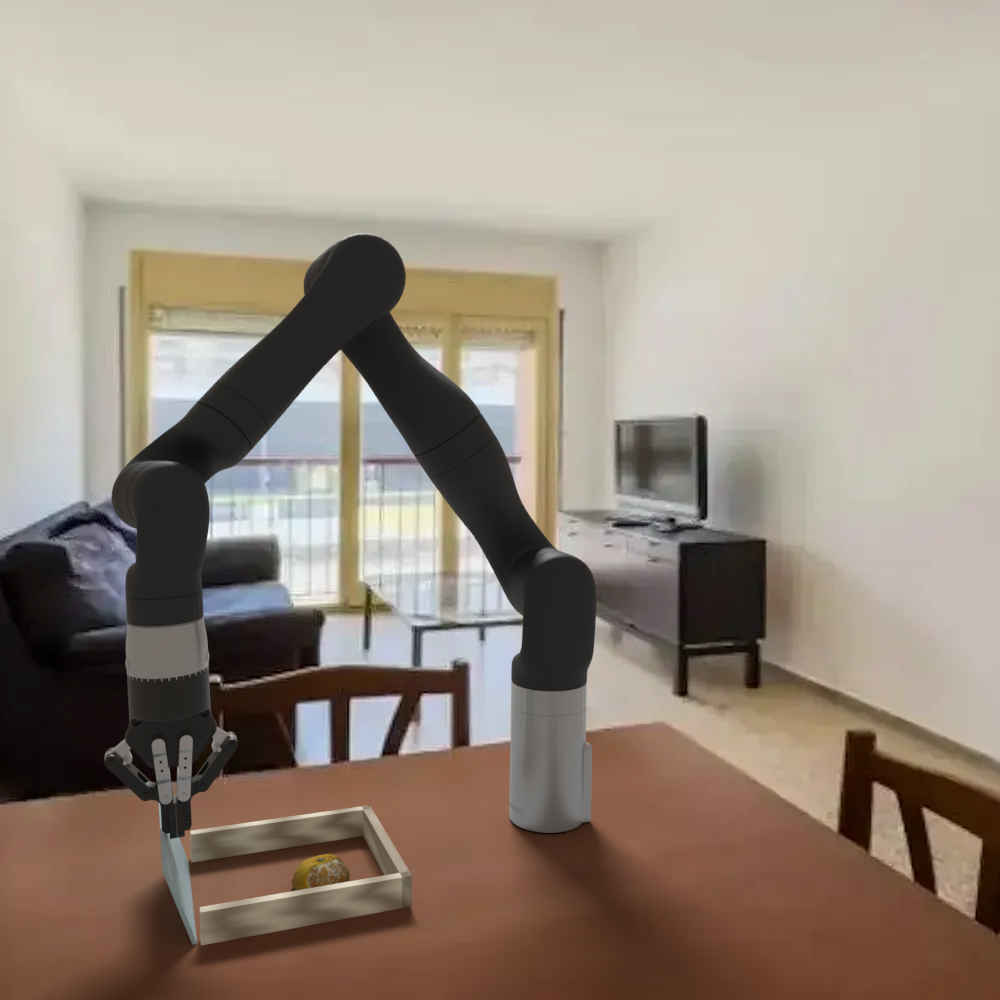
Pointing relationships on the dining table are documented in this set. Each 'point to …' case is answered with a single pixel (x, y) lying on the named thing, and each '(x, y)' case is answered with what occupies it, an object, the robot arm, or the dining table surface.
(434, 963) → the dining table surface
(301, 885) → the fruit
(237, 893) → the dining table surface
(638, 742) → the dining table surface
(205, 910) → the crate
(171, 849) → the panel
